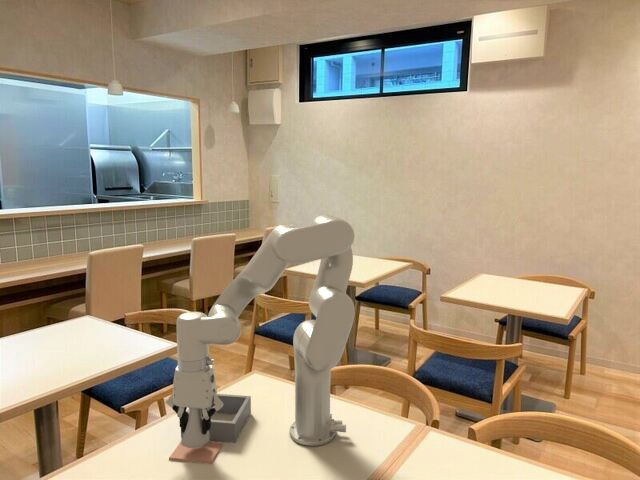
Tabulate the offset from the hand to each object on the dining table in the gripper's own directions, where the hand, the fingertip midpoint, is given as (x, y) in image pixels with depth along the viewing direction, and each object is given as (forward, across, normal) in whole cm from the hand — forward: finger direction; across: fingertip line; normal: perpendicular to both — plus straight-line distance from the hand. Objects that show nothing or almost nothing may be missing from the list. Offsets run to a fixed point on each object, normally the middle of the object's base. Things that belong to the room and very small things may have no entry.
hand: (195, 429), depth 118 cm
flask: (+3, 0, 0) cm, 3 cm away
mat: (+6, 0, 0) cm, 6 cm away
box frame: (+6, -1, -13) cm, 14 cm away
